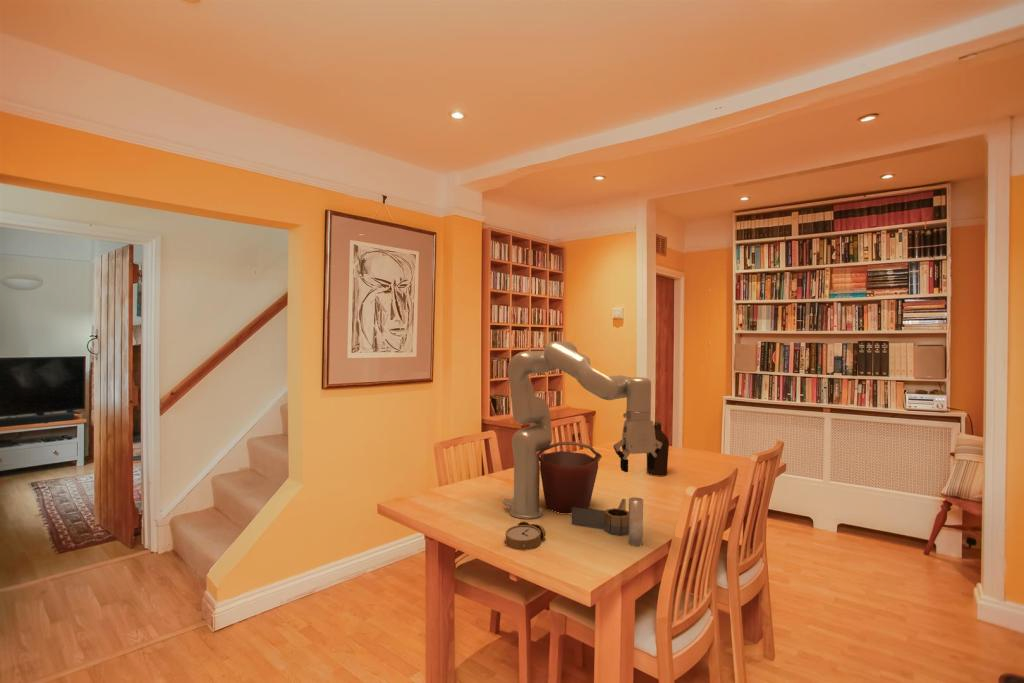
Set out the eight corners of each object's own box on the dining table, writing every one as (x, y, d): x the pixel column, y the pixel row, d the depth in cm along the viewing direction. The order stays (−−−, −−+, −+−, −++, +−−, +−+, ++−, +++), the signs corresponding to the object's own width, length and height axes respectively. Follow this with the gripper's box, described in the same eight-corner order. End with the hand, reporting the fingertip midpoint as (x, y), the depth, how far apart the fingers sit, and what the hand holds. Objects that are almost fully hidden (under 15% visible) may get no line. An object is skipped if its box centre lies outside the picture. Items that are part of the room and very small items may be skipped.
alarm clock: (498, 536, 158) (522, 514, 171) (499, 550, 159) (523, 527, 171) (529, 544, 152) (551, 520, 165) (530, 559, 153) (552, 534, 166)
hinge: (568, 528, 173) (569, 510, 173) (581, 509, 192) (581, 493, 192) (628, 536, 166) (628, 518, 166) (635, 516, 185) (635, 500, 185)
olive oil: (670, 472, 247) (671, 421, 247) (666, 477, 238) (666, 424, 238) (648, 469, 252) (649, 419, 252) (643, 474, 243) (644, 422, 243)
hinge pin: (627, 545, 159) (628, 500, 159) (629, 539, 164) (629, 496, 163) (641, 547, 158) (642, 502, 158) (643, 542, 162) (643, 498, 162)
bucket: (602, 501, 201) (604, 439, 200) (594, 522, 180) (596, 452, 179) (543, 493, 209) (544, 433, 208) (528, 512, 188) (529, 446, 187)
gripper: (620, 419, 155) (620, 475, 155) (668, 417, 160) (667, 471, 160) (608, 415, 162) (607, 469, 162) (654, 413, 167) (654, 465, 167)
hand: (637, 470), depth 161 cm, fingers open, 9 cm apart
